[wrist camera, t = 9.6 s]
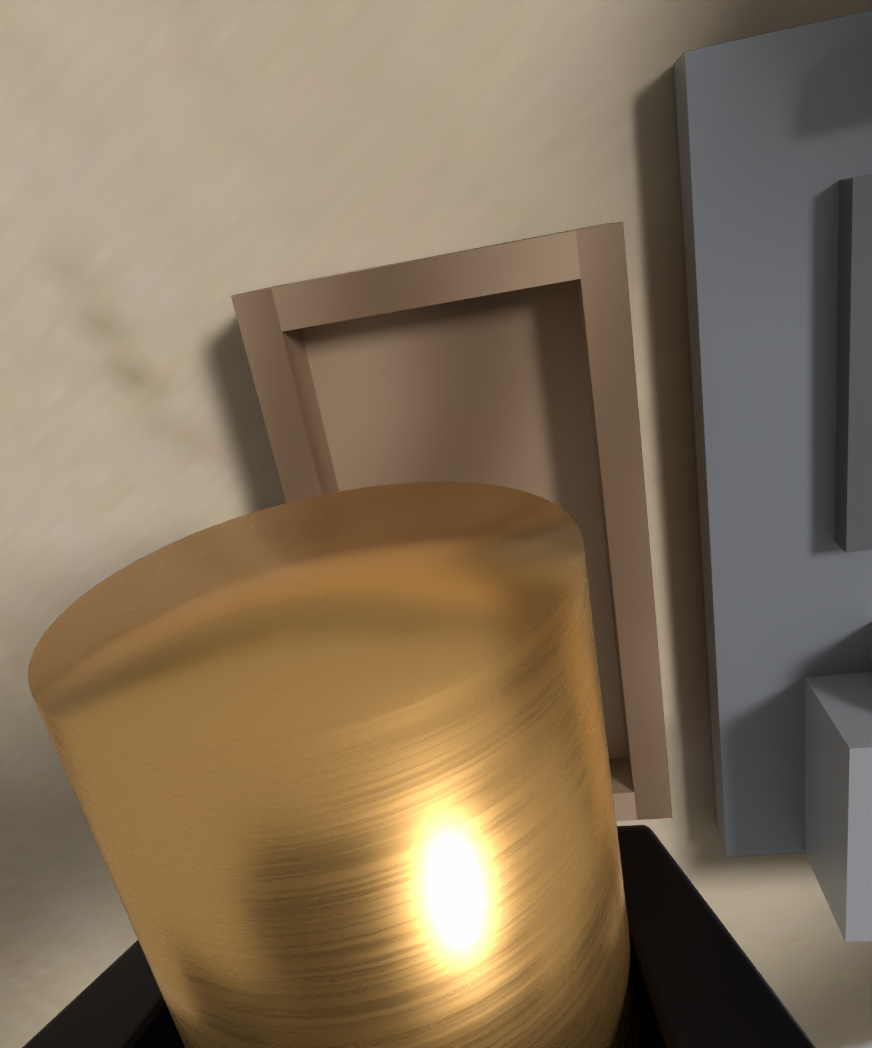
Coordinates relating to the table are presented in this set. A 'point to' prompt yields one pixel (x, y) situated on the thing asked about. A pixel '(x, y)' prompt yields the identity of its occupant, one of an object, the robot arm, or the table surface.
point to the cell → (356, 773)
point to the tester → (785, 437)
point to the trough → (487, 423)
